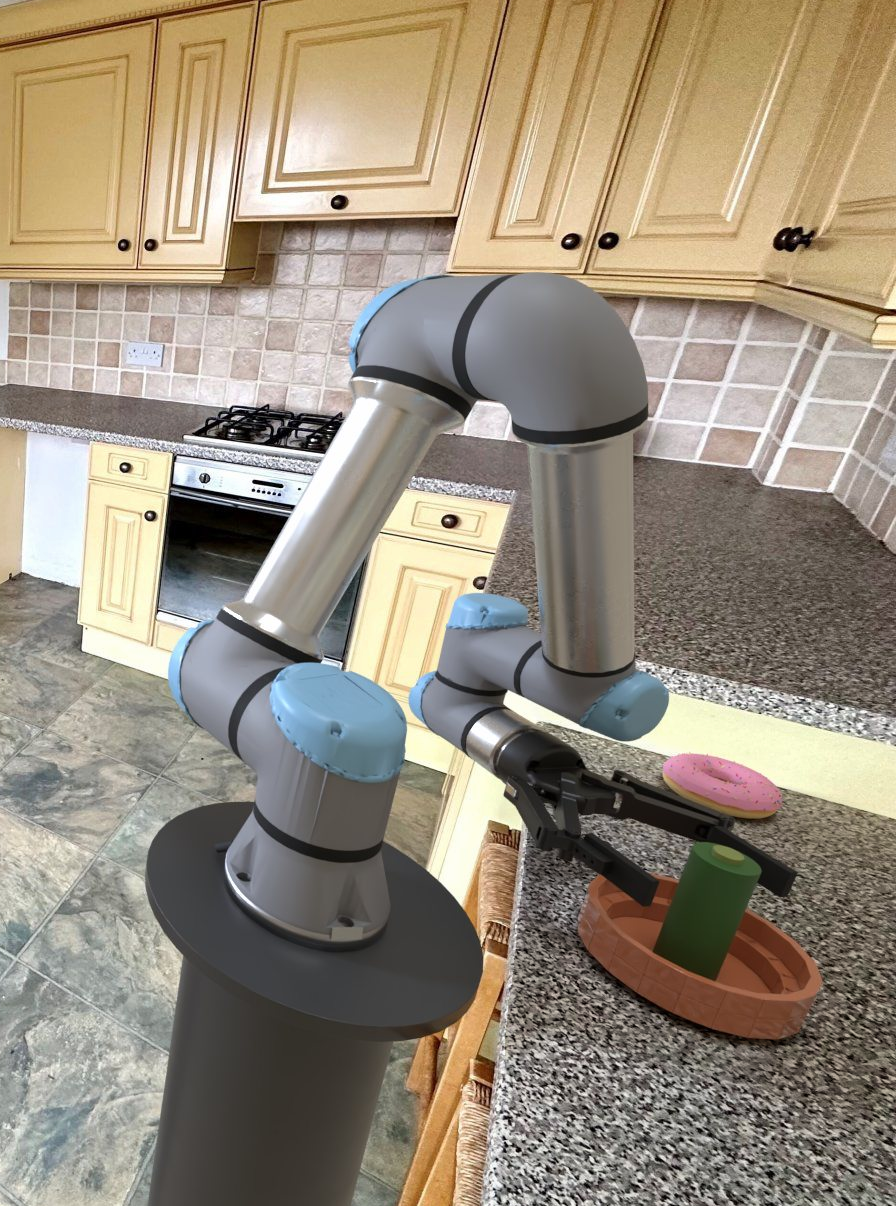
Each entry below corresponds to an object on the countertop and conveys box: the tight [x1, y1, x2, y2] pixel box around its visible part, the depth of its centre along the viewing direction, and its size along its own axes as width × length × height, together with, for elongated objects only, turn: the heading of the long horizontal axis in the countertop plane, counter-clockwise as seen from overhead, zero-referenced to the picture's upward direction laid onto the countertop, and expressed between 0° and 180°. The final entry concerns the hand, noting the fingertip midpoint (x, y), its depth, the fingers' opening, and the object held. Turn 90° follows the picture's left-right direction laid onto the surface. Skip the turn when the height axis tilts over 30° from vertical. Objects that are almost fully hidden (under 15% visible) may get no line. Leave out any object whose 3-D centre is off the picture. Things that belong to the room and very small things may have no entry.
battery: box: [653, 842, 762, 981], centre depth 70 cm, size 4×4×13 cm
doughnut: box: [662, 751, 784, 819], centre depth 98 cm, size 11×11×4 cm
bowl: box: [577, 872, 823, 1040], centre depth 71 cm, size 15×15×5 cm
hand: (721, 889), depth 68 cm, fingers open, 13 cm apart
